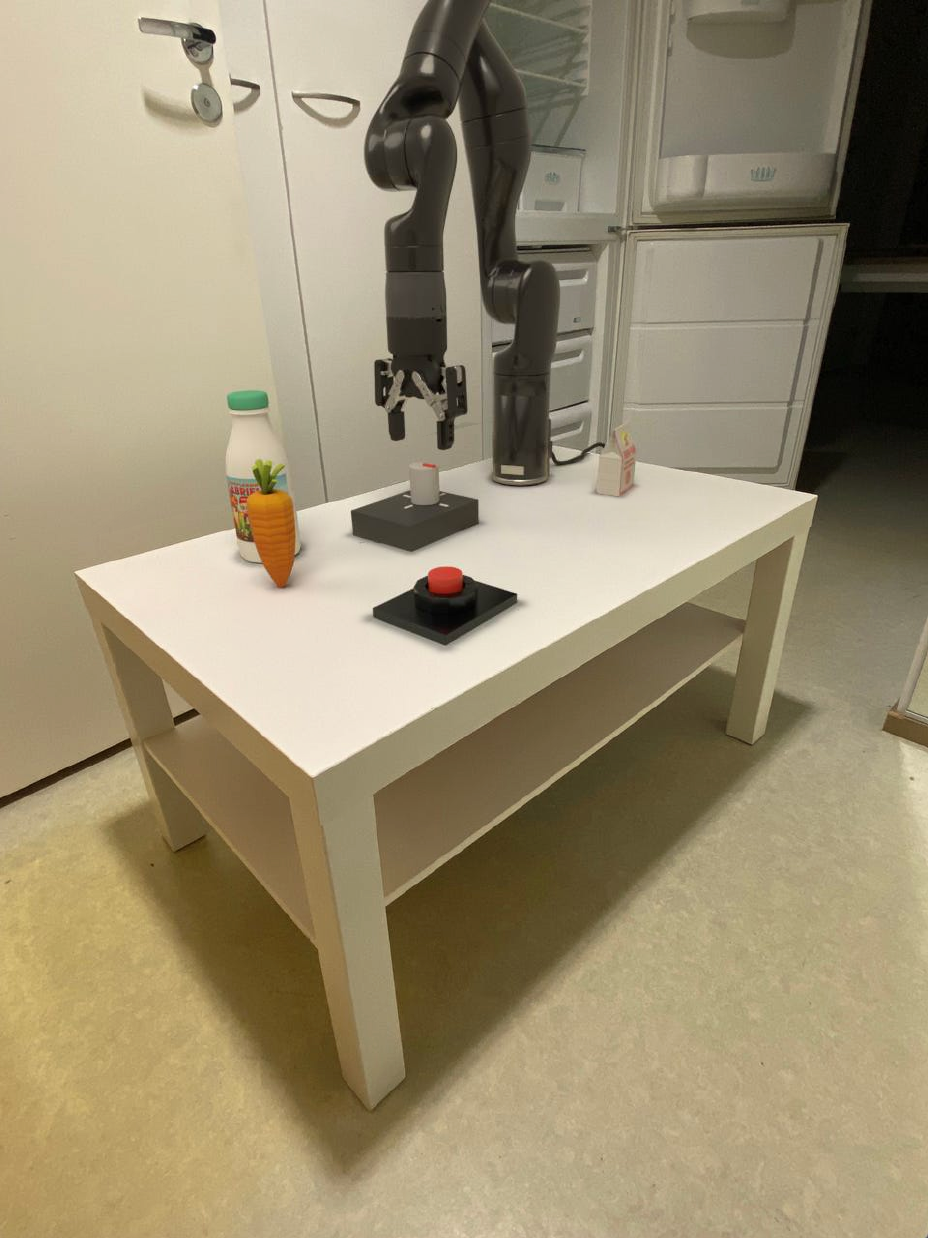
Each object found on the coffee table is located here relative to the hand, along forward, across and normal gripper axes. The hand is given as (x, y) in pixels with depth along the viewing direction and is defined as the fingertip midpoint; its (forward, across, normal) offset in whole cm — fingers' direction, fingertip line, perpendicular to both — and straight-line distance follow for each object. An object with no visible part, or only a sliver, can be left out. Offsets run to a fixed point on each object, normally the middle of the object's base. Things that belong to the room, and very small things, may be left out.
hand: (421, 444), depth 94 cm
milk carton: (+11, +13, +31) cm, 36 cm away
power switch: (+12, +20, -19) cm, 30 cm away
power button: (+9, +20, -19) cm, 29 cm away
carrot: (+12, +1, -26) cm, 28 cm away
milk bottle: (+12, -9, -20) cm, 25 cm away
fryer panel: (+11, 0, -2) cm, 12 cm away
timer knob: (+8, 0, 0) cm, 8 cm away
